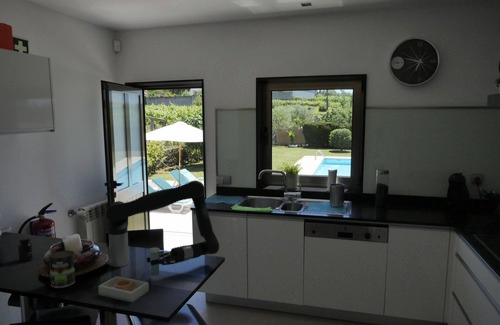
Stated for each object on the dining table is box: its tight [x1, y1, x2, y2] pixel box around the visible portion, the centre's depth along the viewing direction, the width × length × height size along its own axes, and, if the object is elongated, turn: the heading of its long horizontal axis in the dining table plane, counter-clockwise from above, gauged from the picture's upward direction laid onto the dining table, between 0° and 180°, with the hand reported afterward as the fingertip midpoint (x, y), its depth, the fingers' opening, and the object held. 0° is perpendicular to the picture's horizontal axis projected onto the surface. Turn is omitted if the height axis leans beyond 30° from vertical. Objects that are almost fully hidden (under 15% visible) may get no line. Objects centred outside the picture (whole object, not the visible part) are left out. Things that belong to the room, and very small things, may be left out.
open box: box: [98, 275, 150, 303], centre depth 158 cm, size 18×11×4 cm, turn 68°
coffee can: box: [48, 250, 76, 289], centre depth 167 cm, size 10×10×14 cm
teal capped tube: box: [148, 247, 161, 276], centre depth 170 cm, size 5×5×12 cm
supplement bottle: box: [17, 237, 34, 263], centre depth 195 cm, size 7×7×12 cm
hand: (149, 261), depth 168 cm, fingers closed on teal capped tube, 4 cm apart
